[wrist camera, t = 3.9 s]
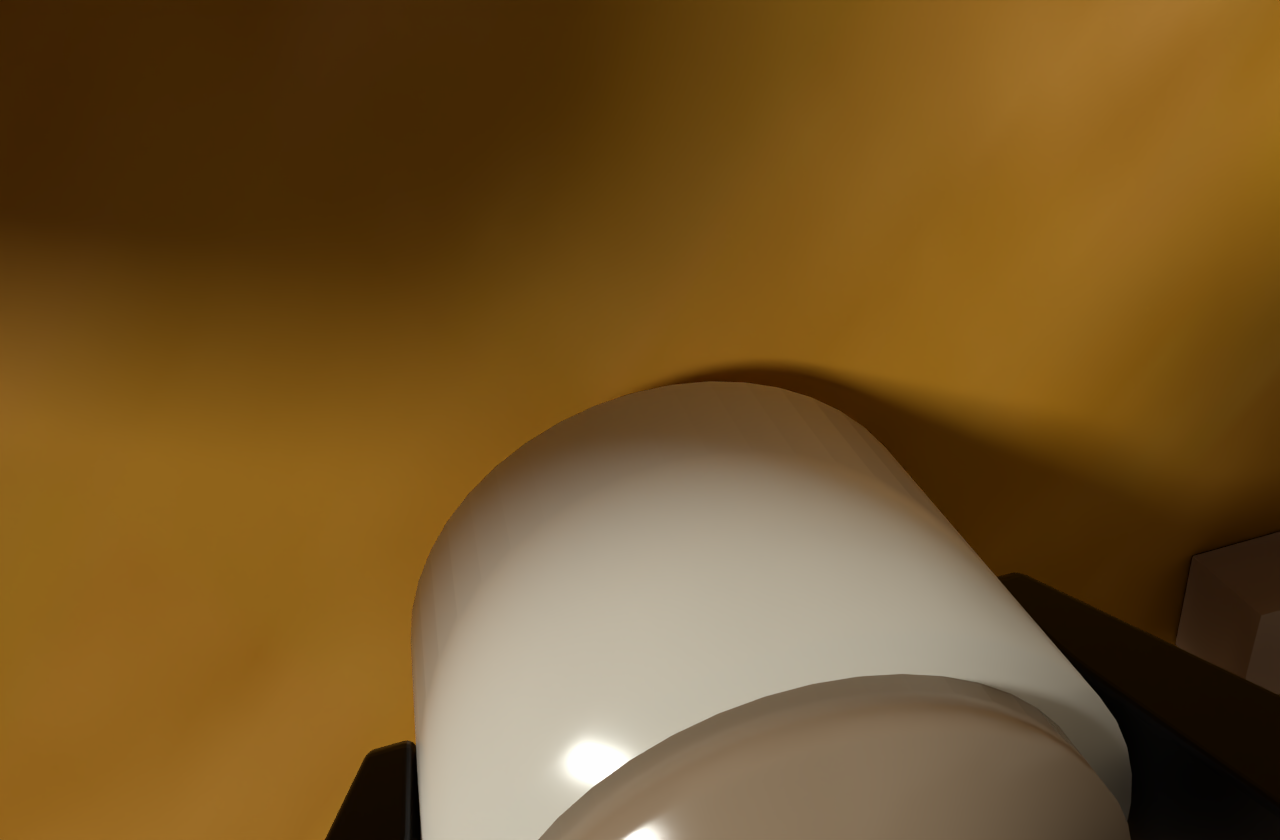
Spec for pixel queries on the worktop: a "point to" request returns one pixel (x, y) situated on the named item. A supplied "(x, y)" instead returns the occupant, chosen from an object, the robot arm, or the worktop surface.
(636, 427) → the cream jar
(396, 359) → the worktop surface
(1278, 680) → the lane
